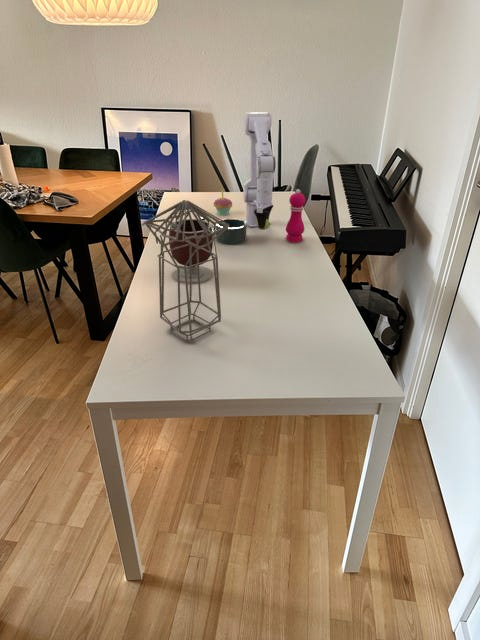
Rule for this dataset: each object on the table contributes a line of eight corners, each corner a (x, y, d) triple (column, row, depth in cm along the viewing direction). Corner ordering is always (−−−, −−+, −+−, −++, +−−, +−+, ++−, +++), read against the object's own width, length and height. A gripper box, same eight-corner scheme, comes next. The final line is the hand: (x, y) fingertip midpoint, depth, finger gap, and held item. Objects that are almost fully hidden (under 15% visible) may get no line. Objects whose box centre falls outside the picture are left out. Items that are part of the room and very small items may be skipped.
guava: (264, 226, 175) (265, 213, 172) (271, 230, 171) (271, 216, 168) (254, 228, 173) (255, 215, 170) (260, 232, 169) (261, 218, 166)
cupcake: (231, 217, 201) (232, 190, 195) (213, 216, 201) (212, 189, 195) (232, 211, 208) (232, 185, 202) (214, 210, 209) (213, 184, 202)
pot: (236, 232, 184) (237, 216, 181) (251, 241, 176) (252, 225, 172) (211, 236, 179) (210, 221, 176) (225, 246, 171) (225, 230, 167)
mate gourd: (207, 264, 156) (206, 208, 146) (218, 281, 145) (217, 221, 134) (163, 269, 152) (158, 211, 142) (170, 287, 141) (166, 226, 130)
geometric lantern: (197, 311, 128) (192, 188, 110) (232, 333, 118) (233, 202, 100) (149, 330, 119) (135, 199, 101) (183, 356, 109) (175, 216, 91)
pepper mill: (282, 241, 177) (285, 190, 166) (289, 235, 182) (292, 185, 172) (299, 244, 174) (303, 192, 163) (305, 238, 179) (310, 188, 169)
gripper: (258, 184, 171) (257, 218, 178) (249, 194, 159) (248, 231, 166) (276, 186, 169) (274, 220, 176) (268, 196, 157) (266, 233, 164)
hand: (263, 225), depth 171 cm, fingers closed on guava, 4 cm apart
